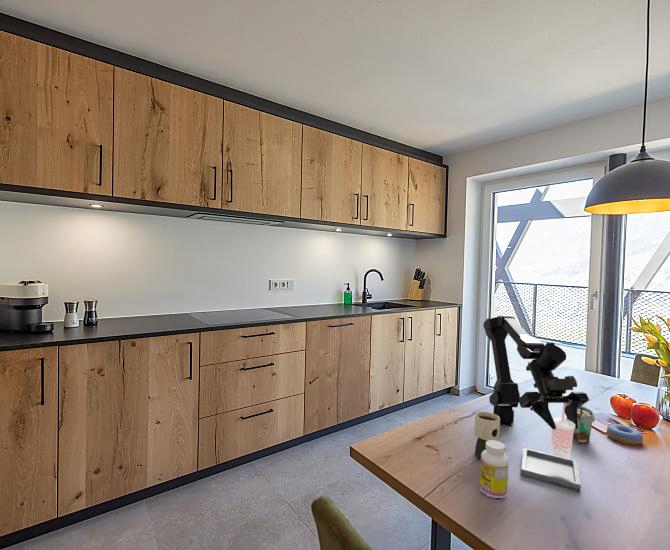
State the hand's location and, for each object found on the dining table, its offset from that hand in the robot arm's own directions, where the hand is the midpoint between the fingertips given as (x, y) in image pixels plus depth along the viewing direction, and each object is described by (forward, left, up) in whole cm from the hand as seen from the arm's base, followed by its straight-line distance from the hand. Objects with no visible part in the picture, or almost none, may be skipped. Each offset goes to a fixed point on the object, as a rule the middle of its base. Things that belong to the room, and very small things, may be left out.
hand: (565, 429), depth 106 cm
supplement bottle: (-16, -19, -13) cm, 29 cm away
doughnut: (+19, +36, -14) cm, 43 cm away
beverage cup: (-1, +1, -8) cm, 8 cm away
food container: (+7, +29, -13) cm, 32 cm away
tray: (-3, 0, -13) cm, 14 cm away
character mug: (-20, -2, -13) cm, 25 cm away
